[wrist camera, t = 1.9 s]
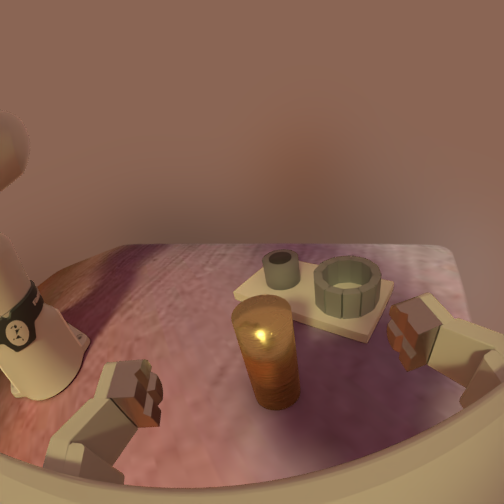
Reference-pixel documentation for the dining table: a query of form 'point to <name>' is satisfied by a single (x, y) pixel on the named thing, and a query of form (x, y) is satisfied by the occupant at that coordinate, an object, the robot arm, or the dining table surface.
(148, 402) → the robot arm
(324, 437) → the dining table surface
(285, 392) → the amber cylinder
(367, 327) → the fitting plate
